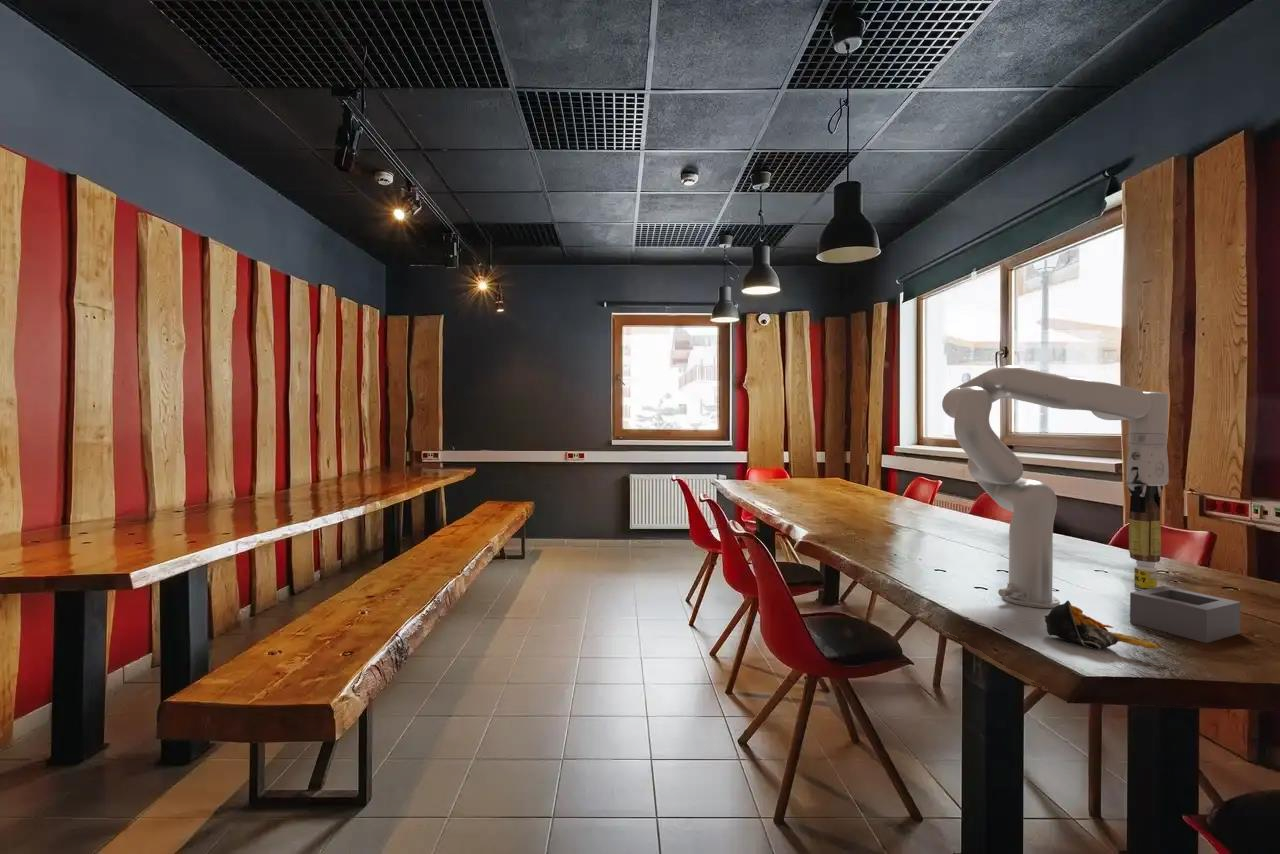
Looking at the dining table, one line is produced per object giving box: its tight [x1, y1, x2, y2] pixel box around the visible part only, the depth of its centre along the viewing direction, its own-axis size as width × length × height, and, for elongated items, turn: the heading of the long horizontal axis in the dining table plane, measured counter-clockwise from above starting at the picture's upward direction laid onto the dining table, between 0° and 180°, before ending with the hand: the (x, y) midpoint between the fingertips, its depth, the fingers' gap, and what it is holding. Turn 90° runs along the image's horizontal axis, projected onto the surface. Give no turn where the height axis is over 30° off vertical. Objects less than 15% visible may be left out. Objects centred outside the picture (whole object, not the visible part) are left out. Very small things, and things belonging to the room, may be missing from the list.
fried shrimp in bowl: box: [1043, 600, 1162, 650], centre depth 124 cm, size 9×11×18 cm
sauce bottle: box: [1128, 482, 1162, 563], centre depth 152 cm, size 6×6×20 cm
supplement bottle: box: [1133, 560, 1158, 591], centre depth 166 cm, size 5×5×8 cm
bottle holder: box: [1129, 585, 1241, 644], centre depth 135 cm, size 14×14×7 cm
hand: (1144, 510), depth 152 cm, fingers closed on sauce bottle, 5 cm apart
